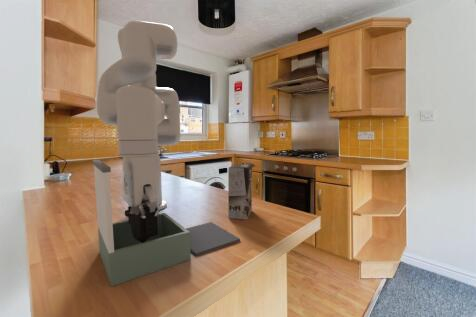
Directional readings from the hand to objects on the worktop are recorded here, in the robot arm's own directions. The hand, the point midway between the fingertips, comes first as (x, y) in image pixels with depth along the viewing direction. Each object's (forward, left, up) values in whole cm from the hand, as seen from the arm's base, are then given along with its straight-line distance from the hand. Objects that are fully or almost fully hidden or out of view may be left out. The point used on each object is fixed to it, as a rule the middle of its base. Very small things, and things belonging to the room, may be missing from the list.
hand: (142, 229), depth 51 cm
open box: (0, 0, -6) cm, 6 cm away
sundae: (0, 0, -6) cm, 6 cm away
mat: (0, +15, -6) cm, 16 cm away
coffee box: (-9, +33, -6) cm, 35 cm away
